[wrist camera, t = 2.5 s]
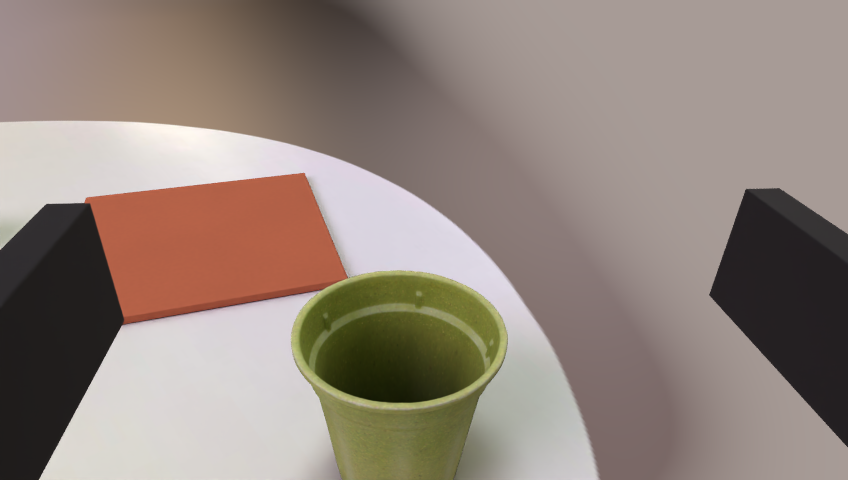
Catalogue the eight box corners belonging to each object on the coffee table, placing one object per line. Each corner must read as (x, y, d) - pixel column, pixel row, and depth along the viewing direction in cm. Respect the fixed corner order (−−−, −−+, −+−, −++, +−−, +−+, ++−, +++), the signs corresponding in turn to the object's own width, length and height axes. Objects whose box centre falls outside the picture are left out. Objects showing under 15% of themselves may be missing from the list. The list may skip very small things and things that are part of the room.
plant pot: (373, 371, 35) (370, 250, 31) (517, 433, 31) (538, 306, 27) (266, 486, 28) (242, 351, 24) (436, 586, 24) (445, 447, 20)
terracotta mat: (304, 178, 59) (304, 172, 59) (348, 285, 43) (348, 278, 43) (87, 203, 53) (86, 197, 53) (43, 338, 37) (40, 331, 37)
